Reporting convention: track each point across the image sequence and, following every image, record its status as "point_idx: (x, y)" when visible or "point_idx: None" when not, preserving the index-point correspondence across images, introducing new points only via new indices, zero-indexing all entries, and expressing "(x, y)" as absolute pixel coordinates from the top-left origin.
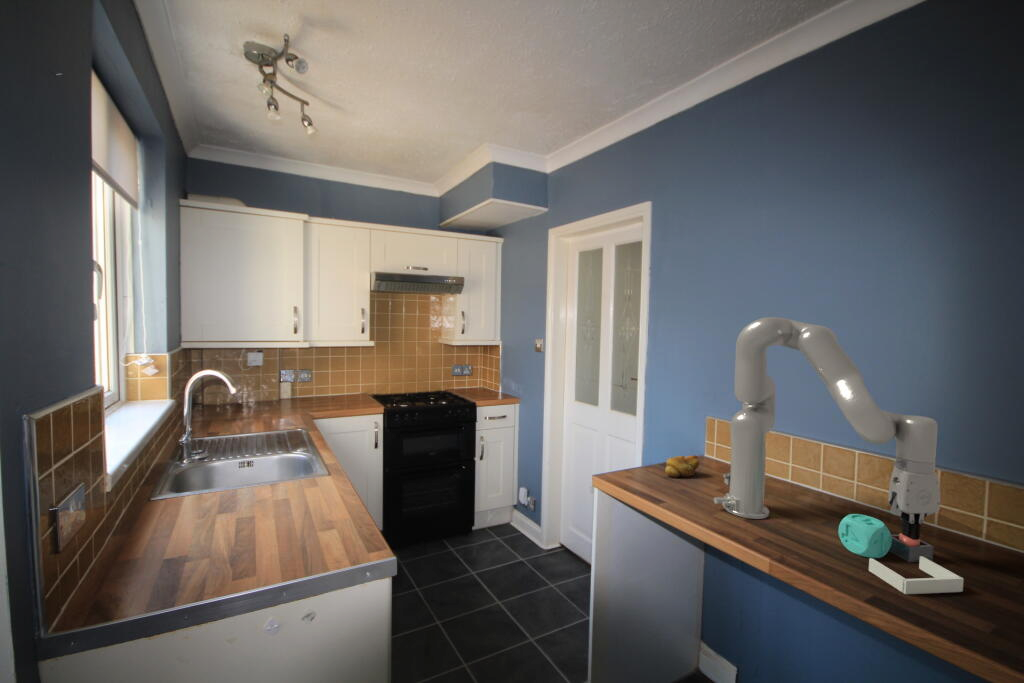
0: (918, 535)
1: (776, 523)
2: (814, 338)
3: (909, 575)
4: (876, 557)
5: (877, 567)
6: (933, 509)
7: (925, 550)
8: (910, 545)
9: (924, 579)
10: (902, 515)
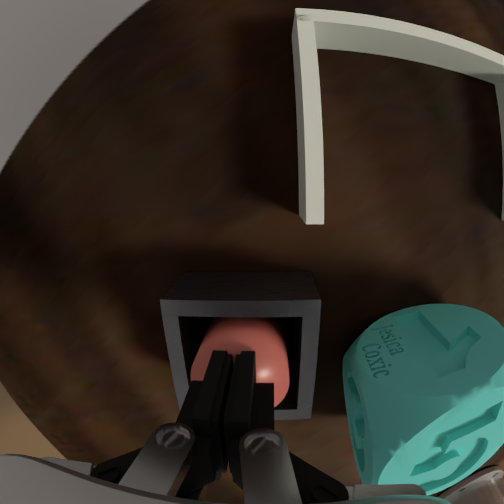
0: (218, 363)
1: None
2: None
3: (407, 167)
4: (421, 305)
5: None
6: (37, 491)
7: (213, 292)
8: (270, 332)
9: (474, 46)
10: (347, 491)
